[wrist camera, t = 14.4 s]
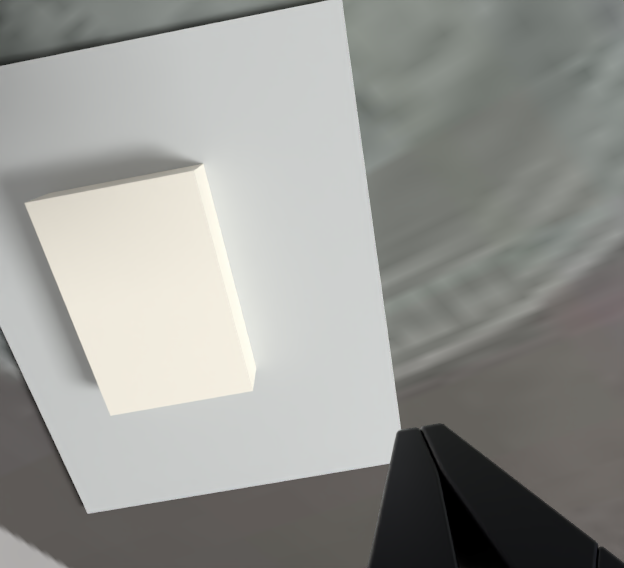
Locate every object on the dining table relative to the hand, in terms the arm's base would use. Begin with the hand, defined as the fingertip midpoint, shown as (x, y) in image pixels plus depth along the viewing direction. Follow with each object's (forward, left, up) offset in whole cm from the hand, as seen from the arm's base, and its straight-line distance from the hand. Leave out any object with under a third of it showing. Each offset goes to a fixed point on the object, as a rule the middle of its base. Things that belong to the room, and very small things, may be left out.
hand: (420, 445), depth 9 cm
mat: (-1, +7, -12) cm, 14 cm away
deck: (0, +5, -11) cm, 12 cm away
